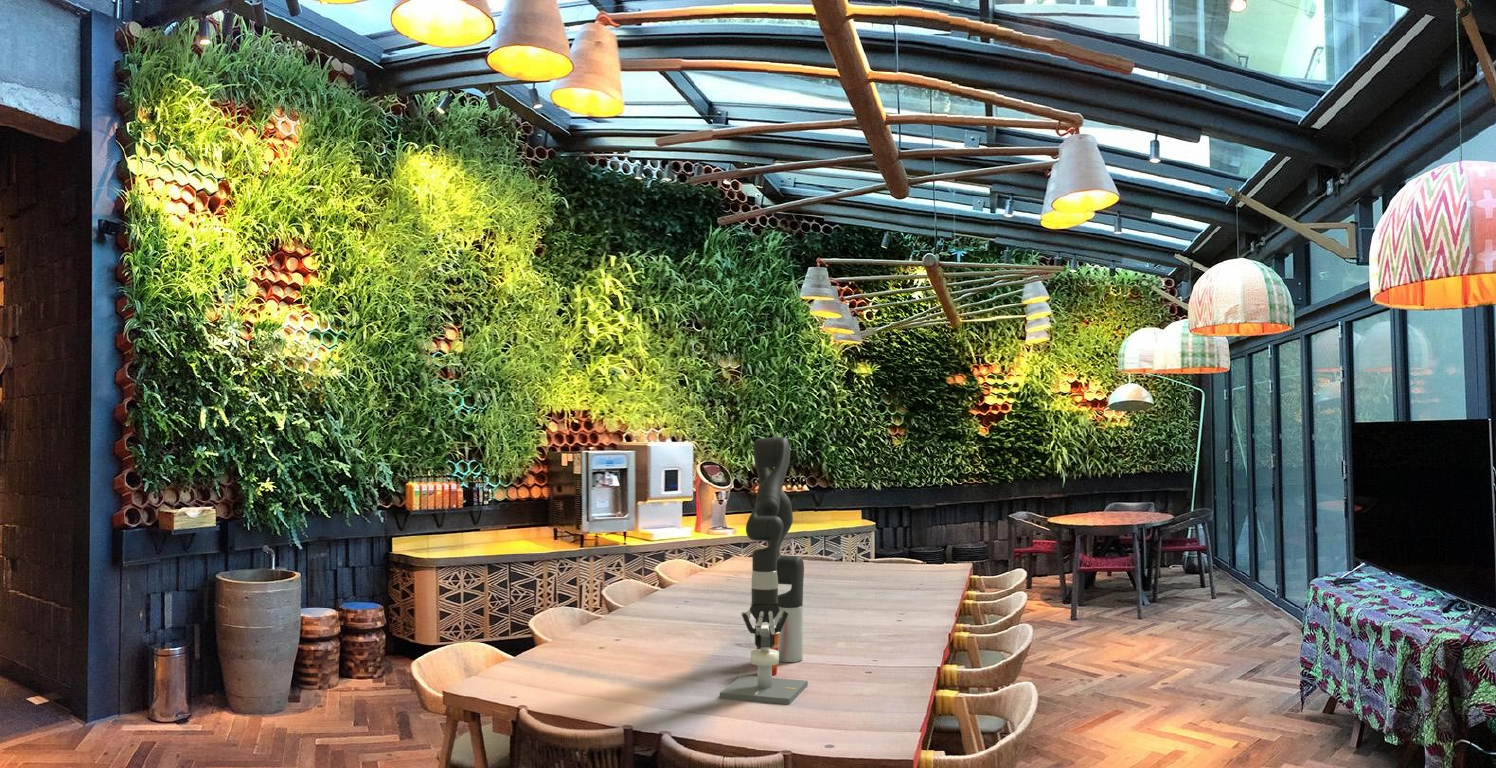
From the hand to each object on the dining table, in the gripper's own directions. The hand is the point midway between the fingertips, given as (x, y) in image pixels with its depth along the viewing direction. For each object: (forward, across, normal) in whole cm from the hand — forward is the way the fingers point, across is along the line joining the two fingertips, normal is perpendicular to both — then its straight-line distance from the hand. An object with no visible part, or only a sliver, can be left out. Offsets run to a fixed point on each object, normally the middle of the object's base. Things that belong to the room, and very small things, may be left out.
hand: (764, 647), depth 281 cm
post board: (+13, 0, 0) cm, 13 cm away
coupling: (+4, 0, 0) cm, 4 cm away
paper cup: (+13, -5, -20) cm, 24 cm away
